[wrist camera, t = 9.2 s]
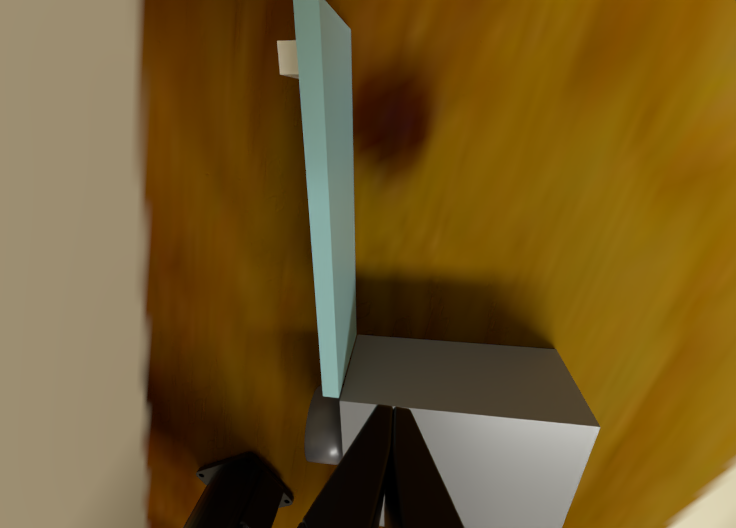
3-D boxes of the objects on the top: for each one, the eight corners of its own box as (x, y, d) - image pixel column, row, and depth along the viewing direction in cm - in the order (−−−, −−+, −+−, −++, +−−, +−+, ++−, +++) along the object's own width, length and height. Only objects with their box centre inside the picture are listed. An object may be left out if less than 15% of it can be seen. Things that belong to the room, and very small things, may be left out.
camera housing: (330, 438, 26) (309, 515, 21) (321, 331, 22) (293, 396, 17) (525, 461, 24) (552, 551, 19) (555, 349, 20) (600, 426, 15)
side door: (356, 334, 21) (338, 397, 17) (328, 332, 22) (303, 394, 17) (350, 30, 15) (318, -8, 10) (310, 31, 15) (260, -5, 10)
